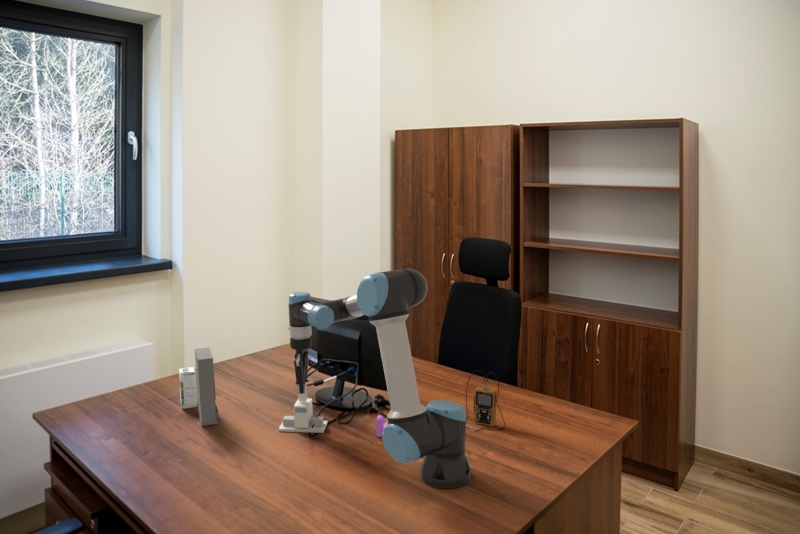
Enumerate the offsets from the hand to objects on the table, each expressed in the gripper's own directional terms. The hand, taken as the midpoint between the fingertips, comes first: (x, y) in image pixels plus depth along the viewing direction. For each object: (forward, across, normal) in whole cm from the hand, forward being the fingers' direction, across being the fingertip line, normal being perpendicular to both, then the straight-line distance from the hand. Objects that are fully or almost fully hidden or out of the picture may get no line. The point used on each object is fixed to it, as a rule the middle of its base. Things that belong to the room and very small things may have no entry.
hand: (302, 400), depth 231 cm
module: (+9, 0, 0) cm, 9 cm away
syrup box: (+10, -17, -49) cm, 53 cm away
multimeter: (+10, -4, +63) cm, 64 cm away
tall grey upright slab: (+10, -5, -37) cm, 39 cm away
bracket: (+11, 0, +31) cm, 33 cm away
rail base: (+10, 0, 0) cm, 10 cm away
